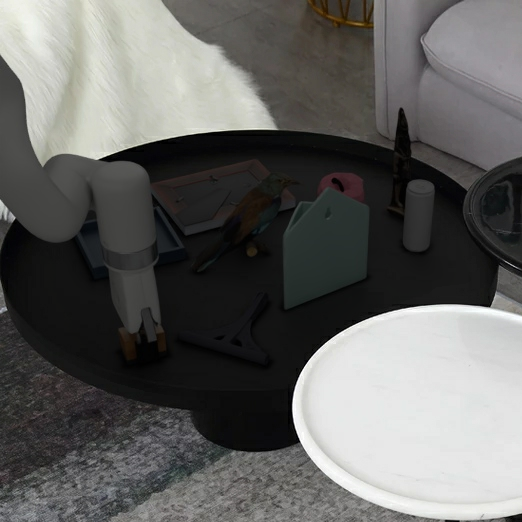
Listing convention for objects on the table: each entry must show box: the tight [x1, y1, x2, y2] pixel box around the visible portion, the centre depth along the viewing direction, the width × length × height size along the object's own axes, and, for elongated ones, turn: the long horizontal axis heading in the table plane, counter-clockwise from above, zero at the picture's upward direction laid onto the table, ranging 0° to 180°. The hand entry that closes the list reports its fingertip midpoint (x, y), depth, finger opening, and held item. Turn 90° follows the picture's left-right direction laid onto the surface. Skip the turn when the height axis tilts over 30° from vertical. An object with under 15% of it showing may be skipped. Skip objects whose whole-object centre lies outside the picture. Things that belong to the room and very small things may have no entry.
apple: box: [316, 172, 366, 205], centre depth 177 cm, size 10×9×10 cm
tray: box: [73, 205, 187, 280], centre depth 171 cm, size 16×15×2 cm
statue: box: [386, 106, 413, 220], centre depth 177 cm, size 4×7×20 cm, turn 49°
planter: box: [282, 187, 370, 310], centre depth 160 cm, size 16×8×20 cm, turn 127°
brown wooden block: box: [117, 324, 168, 366], centre depth 149 cm, size 6×4×4 cm, turn 117°
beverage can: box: [402, 179, 436, 253], centre depth 172 cm, size 5×5×12 cm
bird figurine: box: [190, 171, 303, 273], centre depth 168 cm, size 13×10×20 cm
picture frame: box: [150, 158, 297, 237], centre depth 183 cm, size 16×2×22 cm
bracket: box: [178, 290, 270, 366], centre depth 155 cm, size 14×15×3 cm
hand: (144, 351), depth 150 cm, fingers closed on brown wooden block, 3 cm apart
